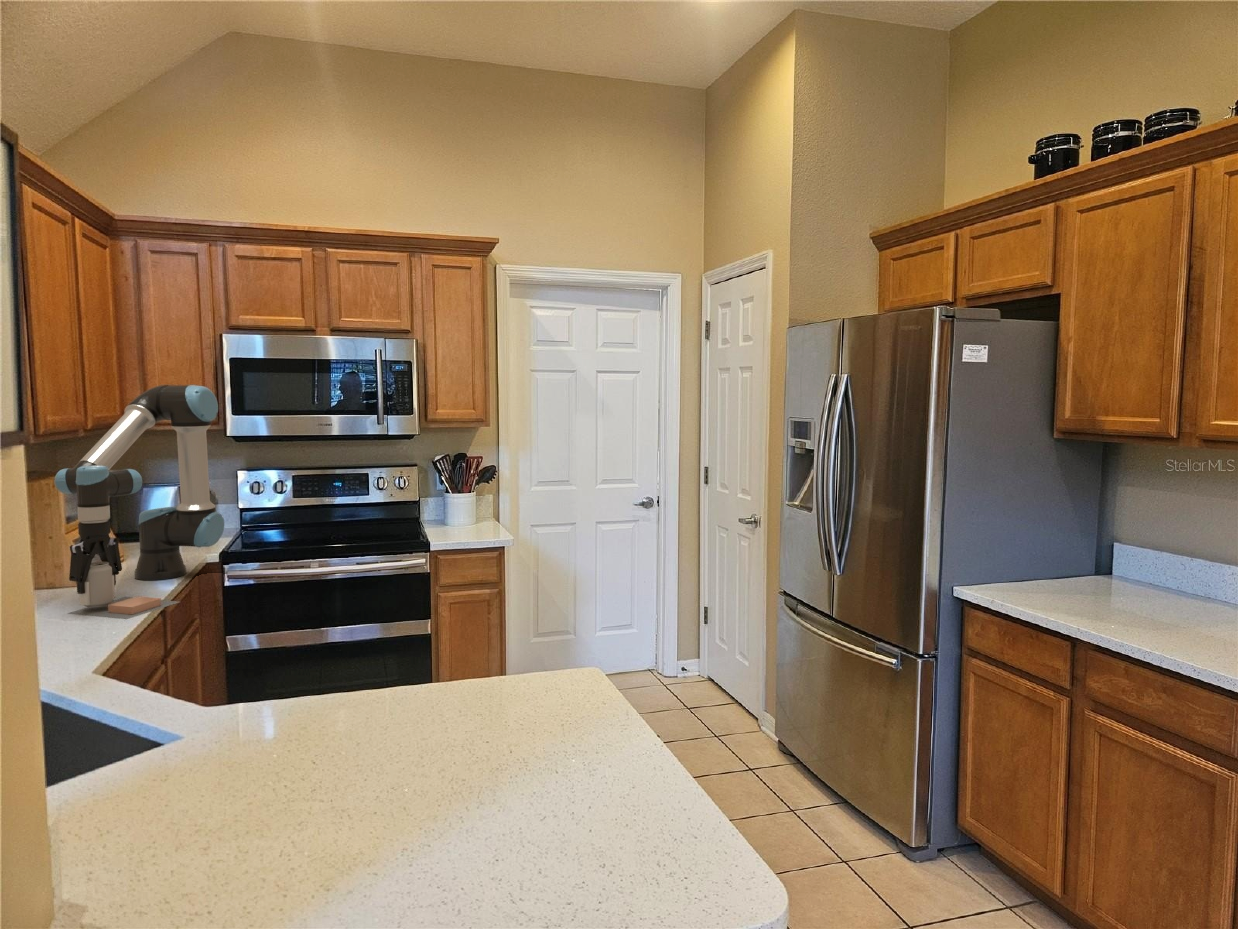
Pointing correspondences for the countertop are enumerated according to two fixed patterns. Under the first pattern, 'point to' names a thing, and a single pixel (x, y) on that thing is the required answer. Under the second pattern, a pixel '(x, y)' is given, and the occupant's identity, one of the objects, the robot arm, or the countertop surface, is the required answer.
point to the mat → (104, 613)
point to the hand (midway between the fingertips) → (97, 600)
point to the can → (100, 584)
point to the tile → (134, 605)
